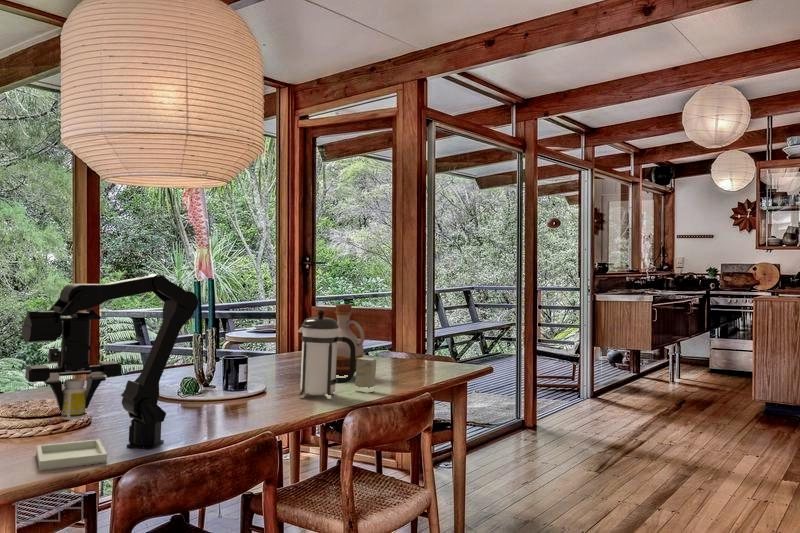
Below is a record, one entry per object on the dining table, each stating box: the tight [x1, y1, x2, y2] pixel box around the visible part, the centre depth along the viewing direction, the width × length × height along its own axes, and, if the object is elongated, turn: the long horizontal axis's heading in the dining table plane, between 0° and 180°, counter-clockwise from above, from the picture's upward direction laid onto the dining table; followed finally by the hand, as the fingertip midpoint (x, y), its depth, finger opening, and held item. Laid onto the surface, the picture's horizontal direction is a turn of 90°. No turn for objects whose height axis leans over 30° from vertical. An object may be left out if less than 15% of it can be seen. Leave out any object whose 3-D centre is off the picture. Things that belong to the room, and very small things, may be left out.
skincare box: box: [354, 356, 377, 388], centre depth 233 cm, size 6×4×12 cm
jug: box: [335, 304, 365, 376], centre depth 260 cm, size 20×18×30 cm
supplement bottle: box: [60, 378, 86, 421], centre depth 143 cm, size 5×5×8 cm
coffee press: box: [297, 309, 356, 396], centre depth 222 cm, size 17×16×30 cm
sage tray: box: [35, 438, 108, 472], centre depth 143 cm, size 13×13×2 cm
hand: (73, 409), depth 144 cm, fingers closed on supplement bottle, 5 cm apart
